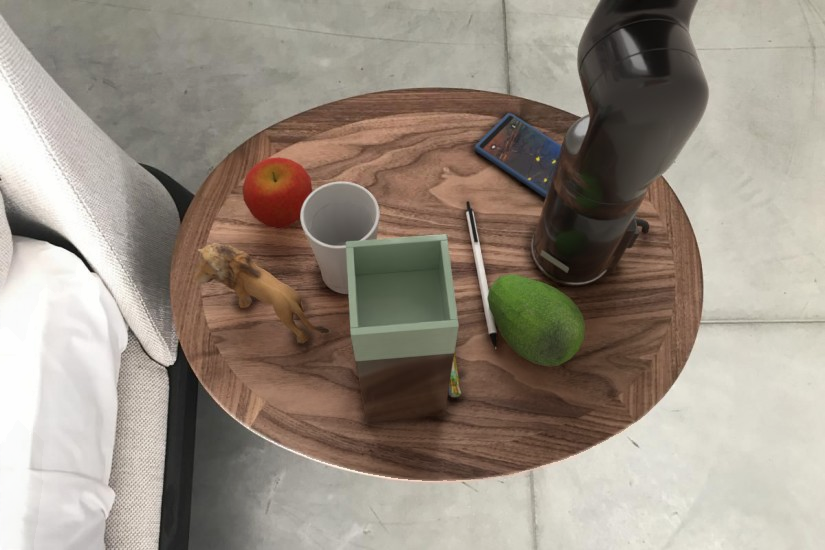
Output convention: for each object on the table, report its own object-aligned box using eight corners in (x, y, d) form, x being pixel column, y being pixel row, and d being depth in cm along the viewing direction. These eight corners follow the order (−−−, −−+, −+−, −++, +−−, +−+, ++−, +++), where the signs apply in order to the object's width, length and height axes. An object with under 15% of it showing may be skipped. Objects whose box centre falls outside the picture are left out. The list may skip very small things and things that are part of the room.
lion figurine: (203, 303, 81) (180, 265, 73) (227, 265, 83) (208, 224, 75) (319, 353, 79) (309, 319, 71) (341, 312, 81) (333, 275, 73)
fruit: (570, 385, 77) (492, 324, 84) (612, 323, 76) (529, 267, 83) (538, 377, 70) (456, 312, 77) (583, 310, 69) (495, 250, 76)
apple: (239, 203, 87) (225, 165, 80) (296, 174, 89) (287, 134, 82) (270, 250, 84) (257, 214, 77) (328, 218, 86) (321, 181, 79)
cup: (374, 306, 81) (369, 254, 70) (306, 293, 82) (290, 240, 71) (389, 246, 85) (387, 188, 74) (323, 234, 85) (312, 175, 75)
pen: (471, 203, 87) (471, 198, 86) (499, 349, 79) (500, 346, 78) (463, 204, 87) (464, 199, 86) (491, 350, 79) (492, 347, 78)
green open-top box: (436, 342, 79) (446, 233, 58) (444, 415, 75) (459, 326, 54) (362, 349, 79) (345, 241, 58) (366, 422, 75) (350, 335, 54)
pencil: (429, 251, 84) (449, 398, 76) (429, 246, 83) (449, 395, 75) (440, 250, 85) (461, 397, 76) (440, 245, 84) (461, 393, 75)
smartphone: (509, 110, 93) (606, 172, 89) (508, 114, 94) (604, 176, 89) (472, 146, 90) (570, 212, 86) (472, 150, 91) (569, 216, 87)
